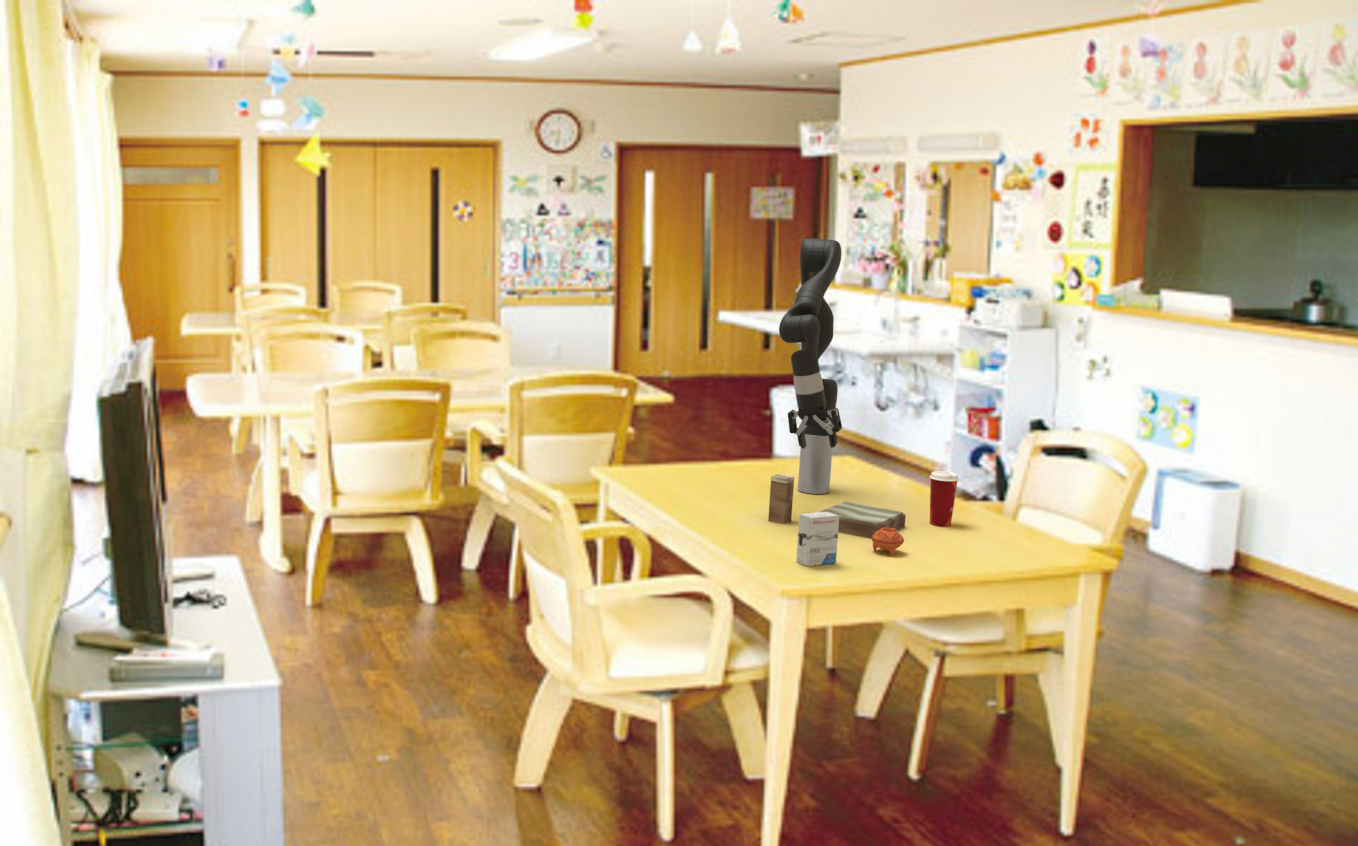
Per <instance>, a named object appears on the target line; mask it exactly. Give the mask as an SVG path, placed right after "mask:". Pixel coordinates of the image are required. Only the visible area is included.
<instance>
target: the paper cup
mask: <svg viewBox="0 0 1358 846" xmlns="http://www.w3.org/2000/svg"><path fill="white" fill-rule="evenodd" d="M929 479H930V489H929V490H930V493H929V494H930V496H929V497H930V499H929V524H930V525H931V526H936V527H942V528H943V527H947V528H948V527H950V526H951V525H952V524H951V523H952V520H953V514H954V506H955V499H956V494H957V493H956V492H957V485H958V481H959V478H958V474H957V473H955V472H953V471H946V470H933V471H932V472H931V475H929Z"/></svg>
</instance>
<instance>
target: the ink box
mask: <svg viewBox="0 0 1358 846" xmlns="http://www.w3.org/2000/svg"><path fill="white" fill-rule="evenodd" d="M818 512H819V513H817V512H807V513H799V515H798V516H799V517H798V531H797V544H796V545H797V547H796V562H798V563H800V564H801V565H803V566H805V567H814V566H815V565H816V566H824V565H833V564H832V563H835V564H837V563H836V562H837V553H838V552H837V551H838V539H839V532H838V527H839V516H838V515H835V514H832V513H830V512H820V511H818Z"/></svg>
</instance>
